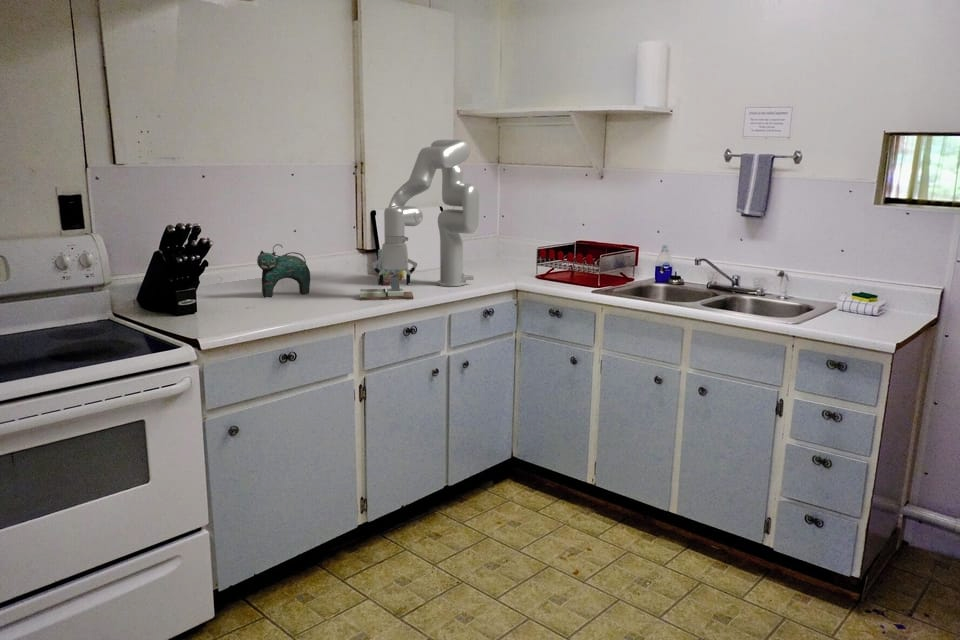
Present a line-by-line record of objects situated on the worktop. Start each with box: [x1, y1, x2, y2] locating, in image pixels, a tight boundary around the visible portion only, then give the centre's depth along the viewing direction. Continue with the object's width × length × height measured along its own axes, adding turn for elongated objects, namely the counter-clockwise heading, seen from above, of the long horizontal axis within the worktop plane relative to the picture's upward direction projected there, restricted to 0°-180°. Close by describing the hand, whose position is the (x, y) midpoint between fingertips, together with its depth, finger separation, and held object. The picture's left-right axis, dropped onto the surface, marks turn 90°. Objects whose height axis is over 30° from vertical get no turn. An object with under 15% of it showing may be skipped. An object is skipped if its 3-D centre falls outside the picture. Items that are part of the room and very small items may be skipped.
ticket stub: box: [386, 276, 405, 296], centre depth 280 cm, size 6×9×6 cm, turn 8°
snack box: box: [377, 248, 405, 286], centre depth 315 cm, size 21×6×15 cm, turn 168°
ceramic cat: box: [256, 243, 311, 298], centre depth 280 cm, size 20×6×20 cm, turn 121°
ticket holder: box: [359, 288, 414, 301], centre depth 280 cm, size 20×11×3 cm, turn 98°
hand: (394, 284), depth 280 cm, fingers open, 9 cm apart
